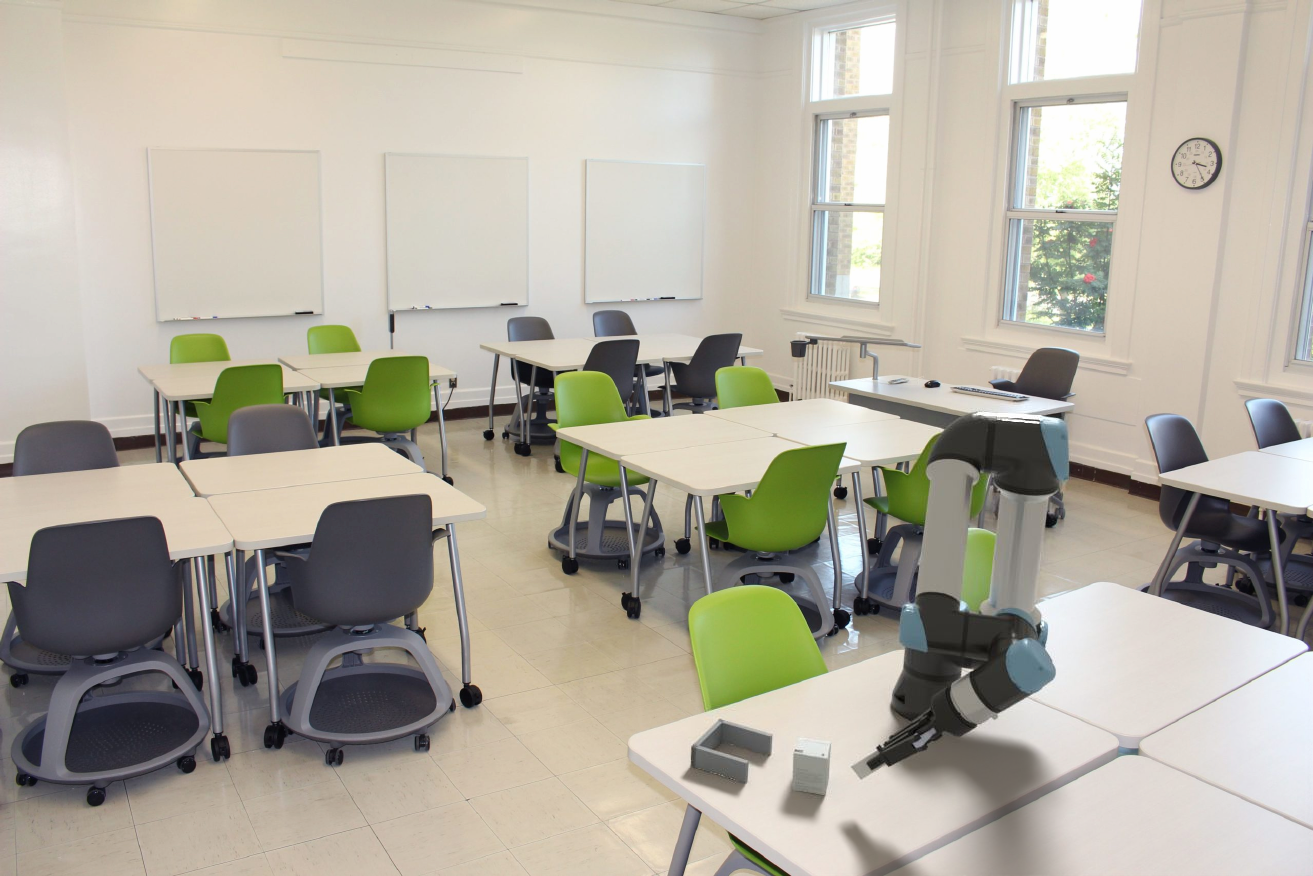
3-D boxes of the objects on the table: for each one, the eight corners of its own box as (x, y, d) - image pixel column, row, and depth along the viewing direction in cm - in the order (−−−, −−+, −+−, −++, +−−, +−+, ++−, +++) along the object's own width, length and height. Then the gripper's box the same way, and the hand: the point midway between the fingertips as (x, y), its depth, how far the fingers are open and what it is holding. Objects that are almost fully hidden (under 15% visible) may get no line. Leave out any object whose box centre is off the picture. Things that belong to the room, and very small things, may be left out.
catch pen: (718, 737, 195) (719, 719, 194) (771, 753, 190) (772, 734, 189) (690, 766, 185) (691, 746, 184) (745, 783, 180) (746, 763, 179)
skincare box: (829, 778, 182) (831, 741, 181) (825, 796, 176) (828, 758, 175) (795, 772, 184) (798, 736, 182) (790, 790, 178) (793, 752, 176)
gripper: (971, 742, 156) (859, 808, 167) (987, 707, 167) (881, 772, 178) (939, 702, 157) (830, 770, 168) (957, 671, 168) (854, 737, 180)
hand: (857, 771), depth 173 cm, fingers closed
